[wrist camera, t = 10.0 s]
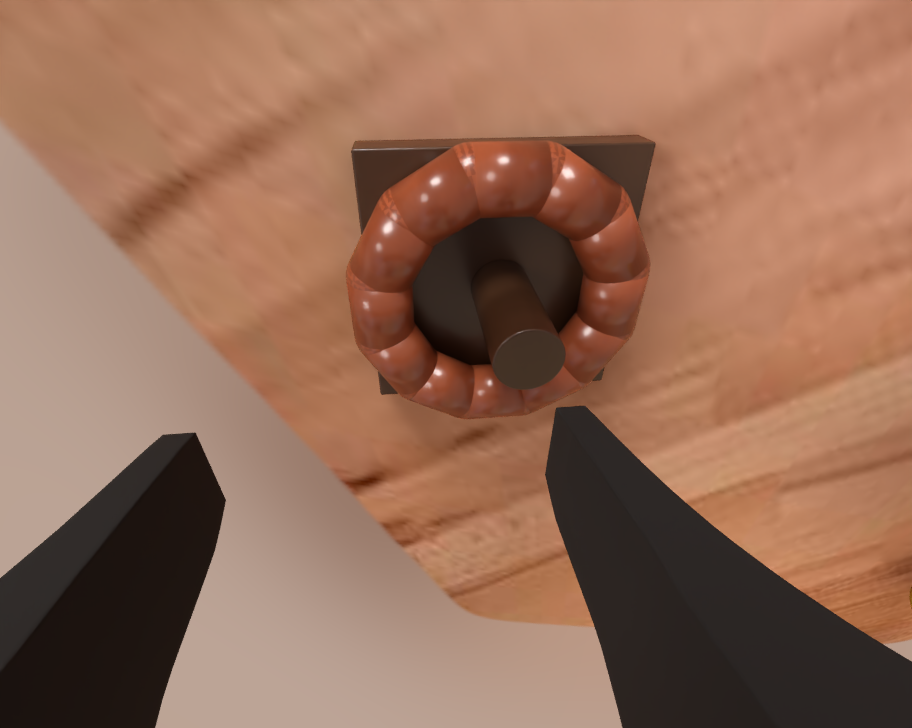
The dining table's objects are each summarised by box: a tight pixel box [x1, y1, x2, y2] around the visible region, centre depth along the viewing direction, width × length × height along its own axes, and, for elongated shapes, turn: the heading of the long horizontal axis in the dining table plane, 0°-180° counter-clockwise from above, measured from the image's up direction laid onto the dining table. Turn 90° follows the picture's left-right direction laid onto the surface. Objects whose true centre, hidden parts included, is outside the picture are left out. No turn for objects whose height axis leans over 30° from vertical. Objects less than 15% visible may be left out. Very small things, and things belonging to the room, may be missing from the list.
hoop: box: [346, 140, 650, 419], centre depth 15 cm, size 10×10×2 cm
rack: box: [351, 135, 655, 395], centre depth 15 cm, size 9×9×6 cm
